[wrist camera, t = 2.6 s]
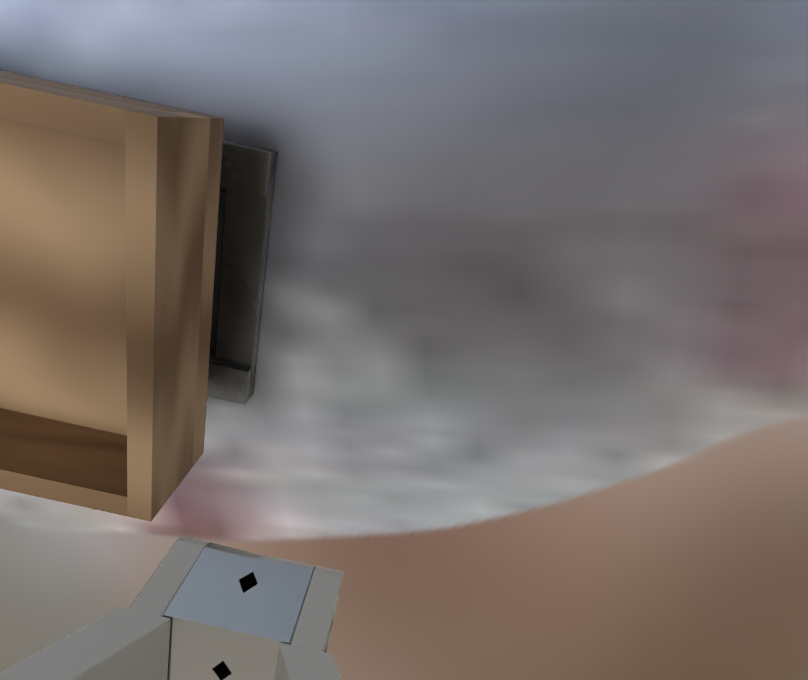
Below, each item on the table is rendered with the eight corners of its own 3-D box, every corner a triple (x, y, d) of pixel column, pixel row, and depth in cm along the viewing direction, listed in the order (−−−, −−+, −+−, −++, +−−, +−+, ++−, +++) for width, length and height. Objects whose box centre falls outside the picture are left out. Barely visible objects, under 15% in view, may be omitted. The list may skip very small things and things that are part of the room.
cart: (-105, 42, 18) (-354, 5, 13) (249, 119, 18) (157, 117, 13) (-55, 362, 23) (-220, 440, 18) (225, 423, 23) (151, 521, 18)
